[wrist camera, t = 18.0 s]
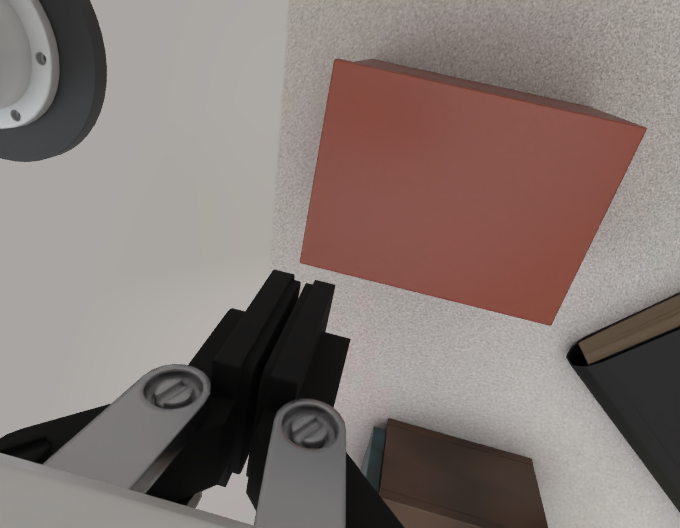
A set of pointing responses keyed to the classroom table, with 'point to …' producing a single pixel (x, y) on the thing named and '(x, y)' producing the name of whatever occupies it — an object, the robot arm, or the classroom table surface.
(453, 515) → the cabinet
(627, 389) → the black journal
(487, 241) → the chest lid
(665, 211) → the classroom table surface
